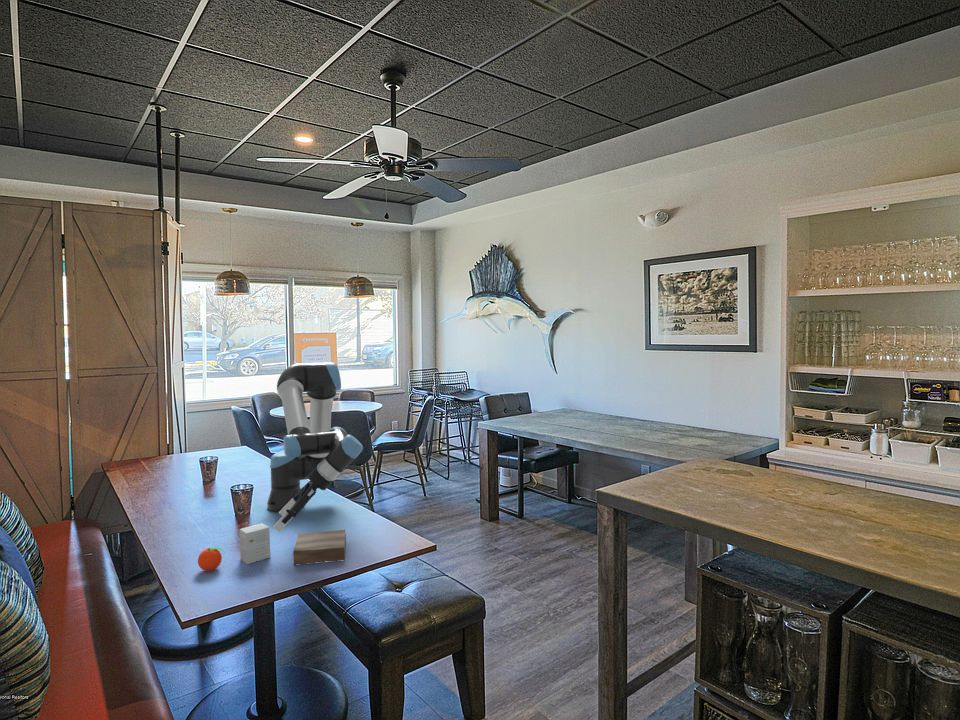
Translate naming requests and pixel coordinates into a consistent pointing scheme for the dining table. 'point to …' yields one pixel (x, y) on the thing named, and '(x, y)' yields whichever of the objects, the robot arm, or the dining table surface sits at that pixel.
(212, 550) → the clementine
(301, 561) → the walnut block
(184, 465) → the dining table surface
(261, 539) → the small box
